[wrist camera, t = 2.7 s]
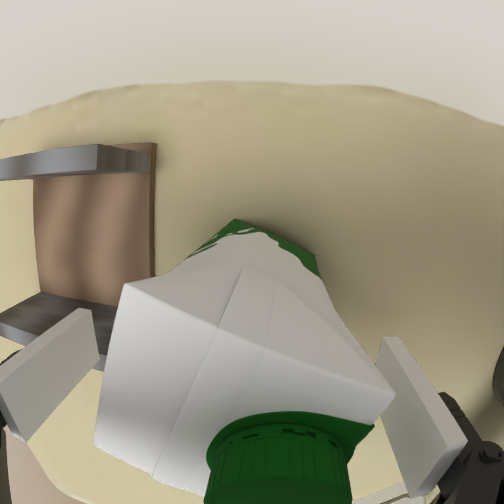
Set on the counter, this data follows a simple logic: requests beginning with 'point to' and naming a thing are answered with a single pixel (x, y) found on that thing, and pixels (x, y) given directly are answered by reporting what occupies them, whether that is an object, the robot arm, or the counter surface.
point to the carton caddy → (85, 234)
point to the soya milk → (239, 377)
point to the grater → (390, 496)
